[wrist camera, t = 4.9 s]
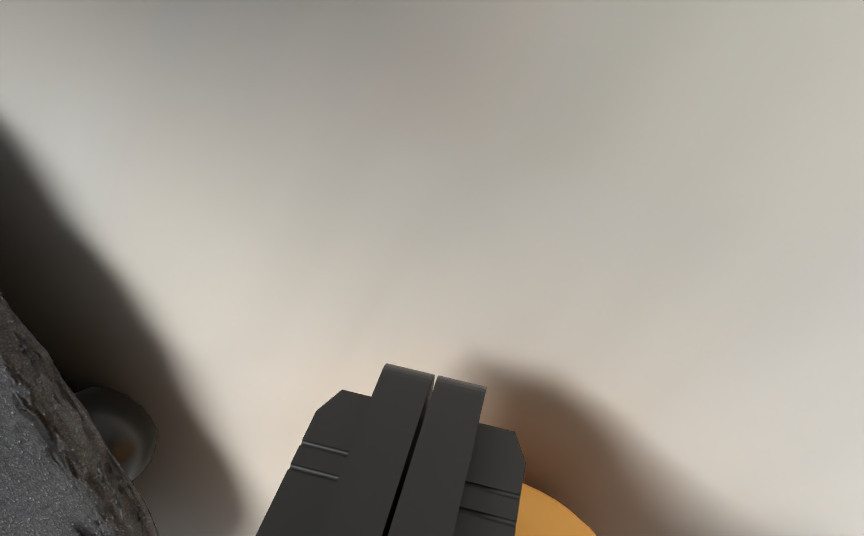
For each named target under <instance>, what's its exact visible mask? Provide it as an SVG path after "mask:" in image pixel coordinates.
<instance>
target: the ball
mask: <svg viewBox="0 0 864 536" xmlns="http://www.w3.org/2000/svg"><path fill="white" fill-rule="evenodd" d="M515 536H597V535H596V534H595V533H594V532H593V531H592V530H591V529H590V528H589V527H588V526H587V525H586V524H585V523H584V522H583V521H581V520H580V519H579V518H578V517H577V516H576V515H575V514H574V513H573V512H571V511H570V510H569V509H568V508H566V507H565V506H564V505H562V504H561V503H560V502H558V501H557V500H555V499H553V498H552V497H550V496H548V495H546V494H545V493H543V492H541V491H539V490H537V489H535V488H532V487H530V486H528V485H526V484H524V483H522V490H521V496H520V503H519V510H518V517H517V523H516V531H515Z"/></svg>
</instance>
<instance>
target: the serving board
mask: <svg viewBox="0 0 864 536" xmlns="http://www.w3.org/2000/svg"><path fill="white" fill-rule="evenodd" d="M156 441H157V434H156V427H155V425H154V423H153V421H152V419H151V417H150V416H149V414H148V413H147V412H146V411H145V410H144V409H143V408H142V406H140V405H139V404H138V403H136V402H135V401H134V400H132V399H131V398H130V397H128V396H126V395H124V394H122V393H120V392H118V391H115V390H111V389H107V388H103V387H90V388H87V389H85V390H82V391H79V392H77V393H75V394H74V393H73V391H72V390H71V389H70V388H69V386H68V385H67V384H66V382H65V380H64V379H63V377H62V375H61V374H60V372H59V370H58V369H57V367H56V365H55V363H54V362H53V360H52V358H51V357H50V355H49V353H48V352H47V350H46V349H45V348H44V347H43V346H42V345H41V344H40V342H39V341H38V340H37V339H36V338H35V337H34V336H33V335H32V333H31V332H30V331H29V330H28V329H27V328H26V327H25V325H24V324H23V323H22V322H21V321H20V320H19V319H18V317H17V316H16V314H15V313H14V311H13V310H12V308H11V307H10V305H9V304H8V302H7V301H6V299H5V298H4V296H3V295H2V293H1V292H0V536H159V534H158V532H157V529H156V527H155V524H154V522H153V520H152V517H151V515H150V513H149V510H148V508H147V506H146V504H145V502H144V501H143V499H142V497H141V496H140V494H139V493H138V491H137V489H136V488H135V486H134V485H133V483H132V480H133V479H135V478H136V477H137V476H138V475H139V474H141V473H142V472H143V470H144V469H145V468H146V467H147V465H148V464H149V462H150V460H151V457H152V454H153V452H154V449H155V446H156Z"/></svg>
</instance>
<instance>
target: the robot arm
mask: <svg viewBox="0 0 864 536" xmlns="http://www.w3.org/2000/svg"><path fill="white" fill-rule="evenodd" d="M434 378H435V375H433V374H429V373H425V372H421V371H417V370H412V369H408V368H404V367H400V366H396V365H392V364H385V366H384V368H383V370H382V372H381V375H380V377H379V379H378V382H377V384H376V387H375V389H374V392H373V394H372V397H370V396H366V395H362V394H358V393H354V392H350V391H346V390H341V391H340V392H339V393H337V394H336V395H335V396H334V397H333V398H331V399H330V400H329V401H328V402H327V403H325V404H324V405H323V406H322V407H320V408H319V409H318V410H317V411H316V413H315V415H314V417H313V419H312V421H311V423H310V425H309V427H308V429H307V431H306V433H305V435H304V437H303V439H302V444H301V445H300V446H299V448H298V450H297V452H296V454H295V456H294V458H293V460H292V462H291V466H290V469H288V470H287V472H286V474H285V476H284V479H283V481H282V483H281V485H280V487H279V489H278V491H277V493H276V495H275V497H274V499H273V501H272V503H271V505H270V507H269V509H268V512H267V514H266V516H265V518H264V520H263V522H262V524H261V526H260V528H259V530H258V532H257V534H256V536H515V531H516V523H517V517H518V510H519V503H520V496H521V490H522V483H523V476H524V469H525V460H524V457H523V454H522V451H521V449H520V446H519V443H518V440H517V437H516V434H515V432H513V431H509V430H505V429H501V428H497V427H493V426H489V425H485V424H481V423H479V419H480V414H481V410H482V405H483V401H484V396H485V392H486V388H487V387H484V386H480V385H476V384H472V383H467V382H463V381H459V380H455V379H451V378H447V377H442V376H438V377H437V380H436V383H435V386H434ZM433 386H434V389H433ZM432 391H433V392H432Z"/></svg>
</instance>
